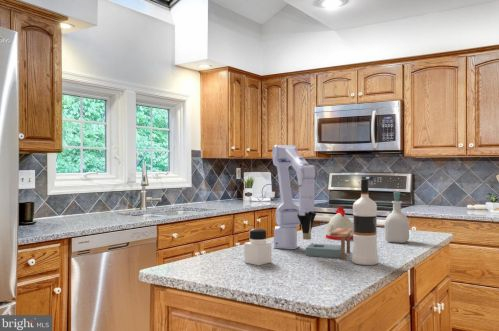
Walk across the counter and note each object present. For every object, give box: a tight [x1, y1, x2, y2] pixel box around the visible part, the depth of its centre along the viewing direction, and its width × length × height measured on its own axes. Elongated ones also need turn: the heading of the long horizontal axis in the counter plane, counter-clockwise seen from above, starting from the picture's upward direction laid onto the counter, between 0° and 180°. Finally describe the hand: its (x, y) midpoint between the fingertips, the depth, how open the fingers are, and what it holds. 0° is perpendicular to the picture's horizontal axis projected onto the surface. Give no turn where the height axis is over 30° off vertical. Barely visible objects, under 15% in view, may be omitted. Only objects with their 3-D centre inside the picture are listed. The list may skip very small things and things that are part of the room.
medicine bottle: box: [243, 228, 272, 266], centre depth 156 cm, size 7×7×12 cm
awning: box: [330, 228, 352, 260], centre depth 167 cm, size 6×14×10 cm, turn 158°
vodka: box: [351, 178, 380, 266], centre depth 154 cm, size 9×9×30 cm
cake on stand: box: [325, 206, 354, 241], centre depth 208 cm, size 14×14×15 cm
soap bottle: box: [384, 191, 410, 244], centre depth 196 cm, size 10×10×23 cm
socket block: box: [305, 243, 341, 259], centre depth 169 cm, size 13×10×3 cm
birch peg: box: [302, 222, 312, 240], centre depth 165 cm, size 3×3×8 cm
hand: (306, 232), depth 165 cm, fingers closed on birch peg, 3 cm apart
